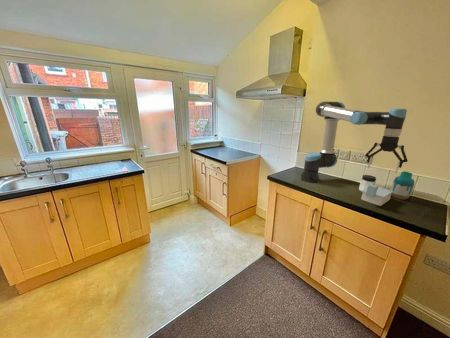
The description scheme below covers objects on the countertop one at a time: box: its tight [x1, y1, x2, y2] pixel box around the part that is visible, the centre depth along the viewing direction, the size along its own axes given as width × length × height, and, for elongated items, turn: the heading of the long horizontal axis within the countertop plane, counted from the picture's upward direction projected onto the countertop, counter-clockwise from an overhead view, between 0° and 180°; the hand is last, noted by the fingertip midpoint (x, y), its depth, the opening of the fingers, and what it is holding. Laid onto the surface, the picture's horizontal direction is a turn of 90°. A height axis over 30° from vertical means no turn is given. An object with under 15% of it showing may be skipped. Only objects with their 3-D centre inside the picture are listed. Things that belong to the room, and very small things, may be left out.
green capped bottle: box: [390, 171, 415, 201], centre depth 130 cm, size 11×11×19 cm
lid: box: [360, 184, 394, 199], centre depth 125 cm, size 12×22×8 cm, turn 124°
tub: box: [360, 192, 392, 207], centre depth 128 cm, size 11×16×6 cm
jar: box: [358, 174, 377, 192], centre depth 141 cm, size 9×8×12 cm
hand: (381, 170), depth 118 cm, fingers open, 13 cm apart
